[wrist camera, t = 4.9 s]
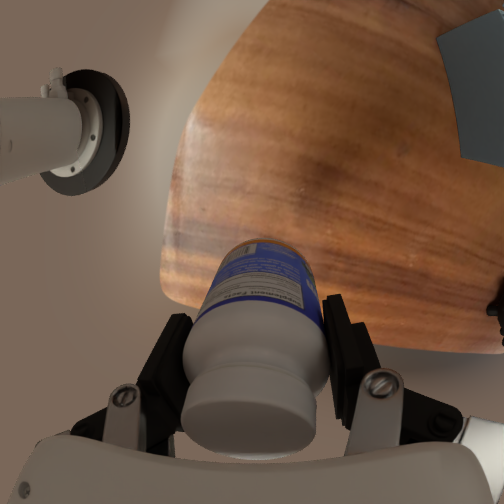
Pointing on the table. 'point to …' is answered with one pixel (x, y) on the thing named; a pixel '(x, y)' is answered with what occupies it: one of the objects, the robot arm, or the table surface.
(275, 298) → the pill bottle
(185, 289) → the table surface
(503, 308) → the toy ball
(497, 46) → the carton
